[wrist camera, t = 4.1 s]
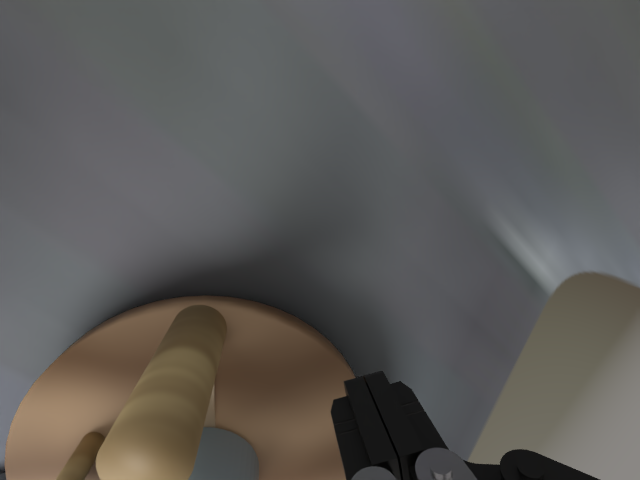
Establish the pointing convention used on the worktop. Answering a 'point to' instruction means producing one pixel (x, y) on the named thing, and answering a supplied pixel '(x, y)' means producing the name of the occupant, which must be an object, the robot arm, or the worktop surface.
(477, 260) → the worktop surface
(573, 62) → the worktop surface
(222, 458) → the pale blue carafe
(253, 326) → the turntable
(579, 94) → the worktop surface
